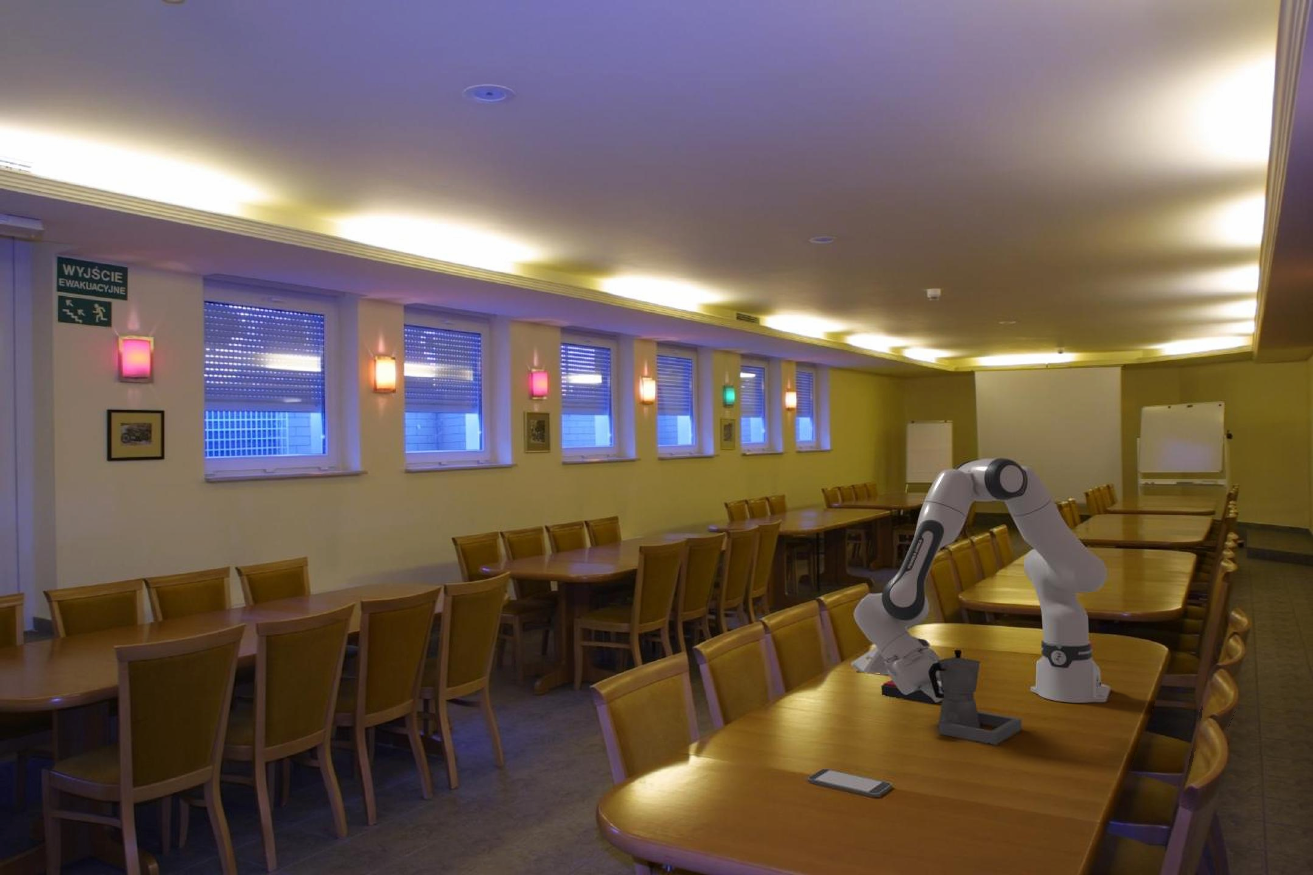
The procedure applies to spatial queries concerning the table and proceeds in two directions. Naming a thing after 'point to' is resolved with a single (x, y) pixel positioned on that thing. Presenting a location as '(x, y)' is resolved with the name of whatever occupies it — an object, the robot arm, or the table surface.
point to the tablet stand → (871, 662)
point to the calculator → (919, 695)
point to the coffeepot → (957, 689)
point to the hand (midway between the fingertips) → (941, 699)
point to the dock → (1004, 730)
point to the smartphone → (850, 782)
